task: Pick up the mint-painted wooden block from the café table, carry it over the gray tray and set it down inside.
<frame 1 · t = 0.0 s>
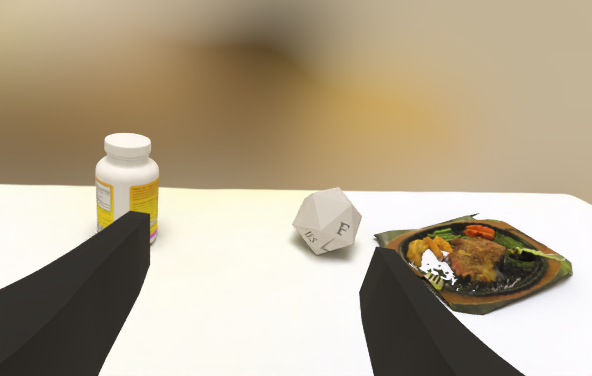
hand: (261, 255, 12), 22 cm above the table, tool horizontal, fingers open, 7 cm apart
prepared meal: (472, 263, 60), on the table
supplement bottle: (127, 239, 48), on the table
die: (321, 245, 55), on the table
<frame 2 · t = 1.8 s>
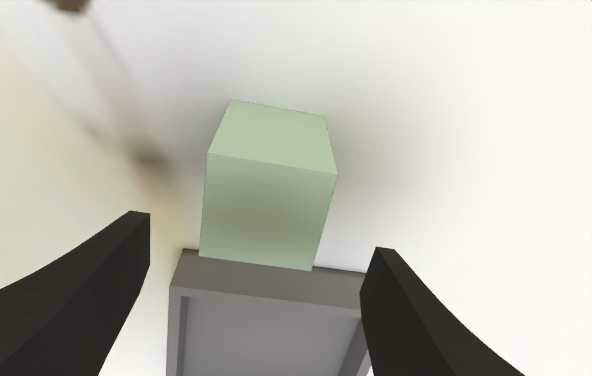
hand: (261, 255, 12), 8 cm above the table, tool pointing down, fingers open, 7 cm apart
gray tray: (269, 330, 26), on the table
mint block: (270, 150, 19), on the table
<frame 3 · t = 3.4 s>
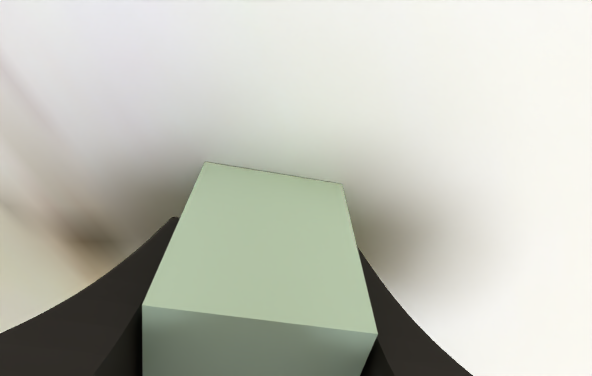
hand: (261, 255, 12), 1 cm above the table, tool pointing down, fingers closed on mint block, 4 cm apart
mint block: (264, 228, 14), on the table, touching gripper
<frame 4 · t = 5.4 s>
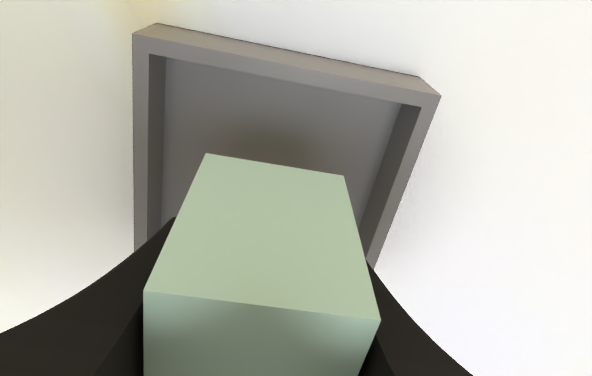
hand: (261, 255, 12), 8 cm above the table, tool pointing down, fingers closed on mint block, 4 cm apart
gray tray: (271, 168, 20), on the table
mint block: (265, 221, 14), point 7 cm above the table, touching gripper
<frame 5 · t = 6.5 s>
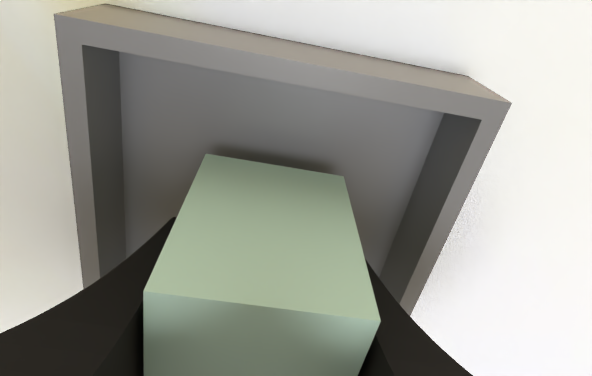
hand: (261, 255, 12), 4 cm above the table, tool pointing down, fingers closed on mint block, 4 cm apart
gray tray: (267, 196, 16), on the table
mint block: (265, 221, 14), point 2 cm above the table, touching gripper
when the fingers open (4 cm above the table, at t = 7.3 s): mint block drops 1 cm, resting on gray tray.
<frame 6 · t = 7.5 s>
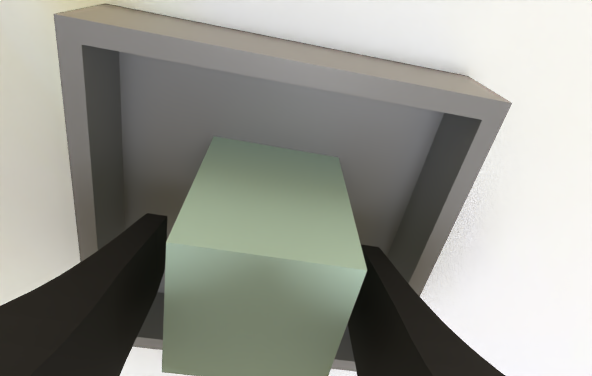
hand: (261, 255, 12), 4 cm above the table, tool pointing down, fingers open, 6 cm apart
gray tray: (267, 197, 15), on the table
mint block: (267, 199, 15), point 1 cm above the table, touching gray tray
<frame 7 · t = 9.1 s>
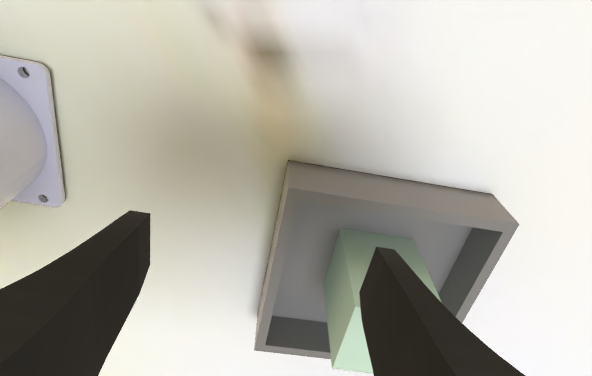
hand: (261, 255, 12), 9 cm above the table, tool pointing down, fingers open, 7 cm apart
gray tray: (364, 259, 25), on the table
mint block: (366, 262, 24), point 1 cm above the table, touching gray tray
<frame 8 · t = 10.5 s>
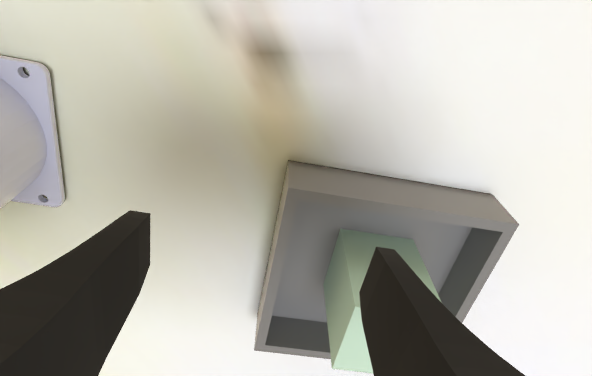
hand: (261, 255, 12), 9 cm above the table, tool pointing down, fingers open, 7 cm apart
gray tray: (364, 259, 25), on the table
mint block: (366, 262, 24), point 1 cm above the table, touching gray tray
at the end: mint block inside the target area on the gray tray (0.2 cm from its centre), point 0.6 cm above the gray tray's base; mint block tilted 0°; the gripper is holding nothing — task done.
